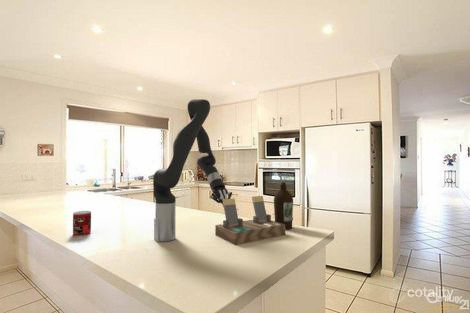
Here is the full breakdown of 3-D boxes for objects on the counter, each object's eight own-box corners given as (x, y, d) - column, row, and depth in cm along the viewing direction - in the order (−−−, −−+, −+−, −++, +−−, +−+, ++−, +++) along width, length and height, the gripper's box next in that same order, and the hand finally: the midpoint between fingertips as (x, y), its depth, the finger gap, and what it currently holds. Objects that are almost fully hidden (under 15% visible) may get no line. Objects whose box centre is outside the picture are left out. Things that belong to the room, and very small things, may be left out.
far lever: (258, 221, 135) (253, 196, 139) (256, 222, 136) (251, 197, 140) (267, 220, 138) (262, 195, 142) (266, 221, 140) (260, 196, 144)
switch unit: (234, 244, 115) (234, 226, 115) (215, 235, 130) (215, 218, 131) (285, 234, 131) (285, 218, 131) (262, 227, 146) (262, 212, 147)
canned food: (69, 234, 132) (69, 212, 132) (84, 231, 139) (85, 210, 139) (78, 236, 128) (79, 214, 128) (94, 232, 135) (94, 211, 135)
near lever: (228, 226, 125) (224, 199, 129) (227, 227, 127) (222, 200, 131) (239, 224, 129) (234, 198, 133) (237, 225, 130) (232, 199, 134)
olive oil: (269, 226, 147) (269, 182, 147) (283, 224, 153) (283, 181, 153) (283, 231, 138) (283, 183, 139) (297, 228, 144) (297, 182, 144)
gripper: (207, 178, 137) (218, 205, 127) (228, 177, 144) (241, 202, 134) (202, 187, 142) (213, 214, 131) (224, 186, 149) (235, 211, 138)
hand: (227, 208), depth 132 cm, fingers closed
